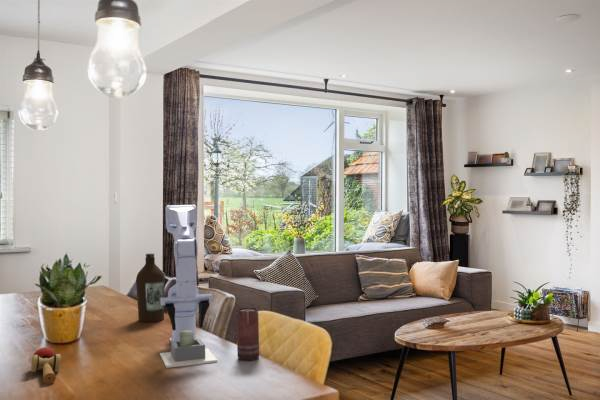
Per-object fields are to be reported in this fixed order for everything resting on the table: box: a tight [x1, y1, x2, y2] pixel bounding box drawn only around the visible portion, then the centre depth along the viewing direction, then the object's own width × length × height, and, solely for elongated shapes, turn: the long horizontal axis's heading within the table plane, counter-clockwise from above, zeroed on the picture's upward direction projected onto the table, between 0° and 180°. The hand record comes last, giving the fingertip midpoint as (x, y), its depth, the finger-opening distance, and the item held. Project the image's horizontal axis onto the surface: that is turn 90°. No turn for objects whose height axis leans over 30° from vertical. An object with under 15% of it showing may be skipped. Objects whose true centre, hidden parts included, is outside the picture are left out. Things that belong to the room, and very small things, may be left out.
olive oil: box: [135, 253, 166, 323], centre depth 225 cm, size 11×11×25 cm
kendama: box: [30, 346, 62, 385], centre depth 158 cm, size 8×6×18 cm
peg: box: [180, 330, 194, 347], centre depth 170 cm, size 4×4×7 cm
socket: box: [159, 338, 218, 369], centre depth 170 cm, size 14×14×4 cm
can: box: [236, 307, 260, 362], centre depth 169 cm, size 6×6×14 cm
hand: (187, 328), depth 170 cm, fingers open, 7 cm apart
